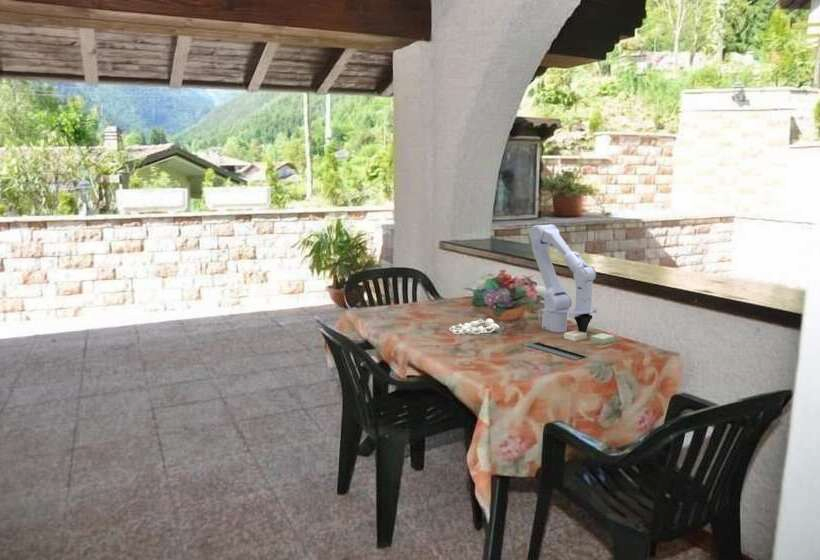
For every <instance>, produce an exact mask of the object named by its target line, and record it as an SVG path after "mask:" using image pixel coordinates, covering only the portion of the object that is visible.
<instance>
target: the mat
mask: <svg viewBox="0 0 820 560" xmlns="http://www.w3.org/2000/svg"><path fill="white" fill-rule="evenodd" d="M526 346H527V347H529V348H532V349H535V350H539V351H543V352H545V353H547V354H548V353H549V354H553V355H556V356H559V357H561V358H565V359H568V358H569V360H572V359H573V361H575V360H576V361H579V360H582V358H583V359H586V358H588V356H587V355H583V354H579V353H575V352H573V351H570V350H566V349H562V348H558V347H555V346H551V345H547V344H545V343H540V342H533V343H529V344H526ZM585 357H586V358H585ZM578 359H579V360H578Z"/></svg>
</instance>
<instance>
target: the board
mask: <svg viewBox="0 0 820 560" xmlns="http://www.w3.org/2000/svg"><path fill="white" fill-rule="evenodd" d="M586 333H587V338H585V339H581V340H577V341H574V342H575V343H580V344H584V345H587V346H591V347H595V348H598V349H603V348H605V347H609V346H613V345H617V344H620V343H624V340H619V339H615V338H614V341H613V342H609V343H605V344H599V343H595V342H591V336H593V335H597V334H594V333H591V332H588V331H586ZM556 337H558V338H561V339H564V340H566V339H565V338H564V333H563V334H560V335H556Z"/></svg>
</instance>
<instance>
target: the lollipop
mask: <svg viewBox="0 0 820 560" xmlns="http://www.w3.org/2000/svg"><path fill="white" fill-rule="evenodd" d="M535 287H536V290H537V292H538V294H539V295H540V296H541V297H542V298H543V299H545V298H544V294H545V293H546V291H547V289H546V286H542V285H537V286H535ZM540 318H541V308H540V309H539V308H538V320H540Z"/></svg>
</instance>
